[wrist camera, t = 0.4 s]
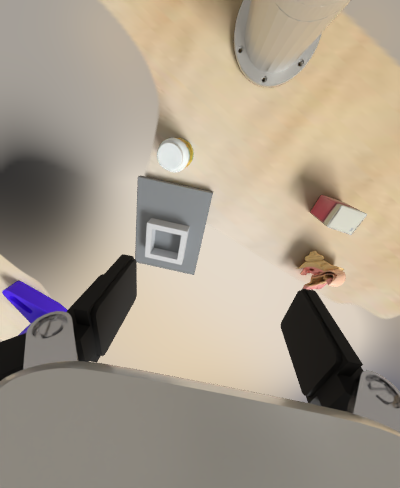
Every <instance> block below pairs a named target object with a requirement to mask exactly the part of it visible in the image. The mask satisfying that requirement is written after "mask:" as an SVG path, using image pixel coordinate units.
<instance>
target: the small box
mask: <svg viewBox="0 0 400 488" xmlns="http://www.w3.org/2000/svg"><path fill="white" fill-rule="evenodd" d="M310 213H311V214H312V215H313V216H315V217H316V218H317V219H318V220H320V221H321V222H322V223H323V224H324V225H326V226H327V227H329V228H332V229H335V230H338V231H341V232H344V233H347V234H350V235H352V233H353V232H354V231H355V230H356V229H357V227H358V226H359V225H360V223H361V222H362V221H363V220H364V218H365V217H366V216H367V214H366V213H364V212H362V211H360V210H358V209H356V208H354V207H352V206H350V205H348V204H346V203H344V202H342V201H339V200H337V199H334V198H331V197H328V196H324V195H321V196H320V197H319V199H318V200H317V202H316V203H315V205H314V207H313V208H312V210H311V212H310Z"/></svg>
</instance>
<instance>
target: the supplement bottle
mask: <svg viewBox="0 0 400 488" xmlns="http://www.w3.org/2000/svg"><path fill="white" fill-rule="evenodd" d="M193 155H194V152H193V148H192V146H191V144H190V143H189V142H188V141H186V140H184V139H182V138H168V139H166V140H164V141H163V142H162V143H161V144H160V146H159V149H158V152H157V159H158V162H159V164H160V165H161V166H162V167H163V168H164V169H166V170H168V171H170V172H179V171H181V170H183V169H184V168H186V167H187V166H188V165H189V164H190V163H191V162H192V159H193Z"/></svg>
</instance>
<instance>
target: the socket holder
mask: <svg viewBox="0 0 400 488" xmlns="http://www.w3.org/2000/svg"><path fill="white" fill-rule="evenodd" d="M137 190H138V191H137V220H136V251H135V252H136V253H135V259H136V262H138V263H142V264H147V265H152V266H156V267H160V268H165V269H169V270H174V271H179V272H183V273H187V274H192V275H194V272H195V268H196V263H197V260H198V255H199V251H200V246H201V242H202V238H203V233H204V229H205V225H206V220H207V216H208V212H209V207H210V203H211V198H212V194H213V192H211V191H207V190H202V189H198V188H193V187H189V186H184V185H180V184H176V183H171V182H167V181H162V180H158V179H153V178H149V177H144V176H139V177H138V189H137Z"/></svg>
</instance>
